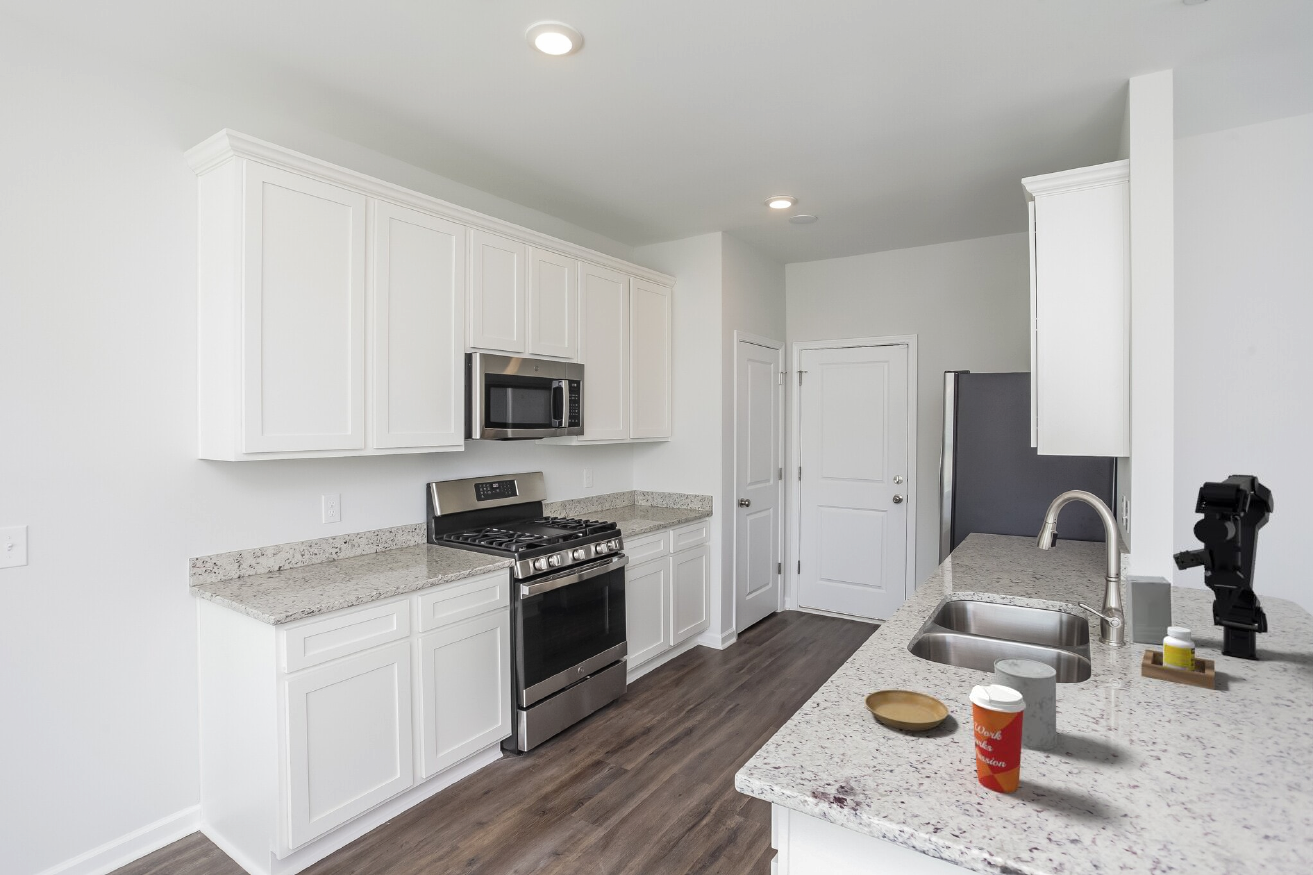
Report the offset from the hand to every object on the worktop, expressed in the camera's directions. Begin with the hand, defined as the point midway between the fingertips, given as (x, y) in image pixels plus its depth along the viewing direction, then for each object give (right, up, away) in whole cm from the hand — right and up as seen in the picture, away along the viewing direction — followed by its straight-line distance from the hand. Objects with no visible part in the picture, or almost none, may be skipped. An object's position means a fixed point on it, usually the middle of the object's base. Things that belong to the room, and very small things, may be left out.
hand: (1222, 611), depth 143 cm
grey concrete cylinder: (-59, -15, -28) cm, 67 cm away
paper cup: (-71, -15, -43) cm, 84 cm away
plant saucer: (-77, -15, -20) cm, 81 cm away
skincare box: (-1, -13, +20) cm, 24 cm away
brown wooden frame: (-11, -13, -1) cm, 17 cm away
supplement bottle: (-11, -14, -1) cm, 17 cm away
